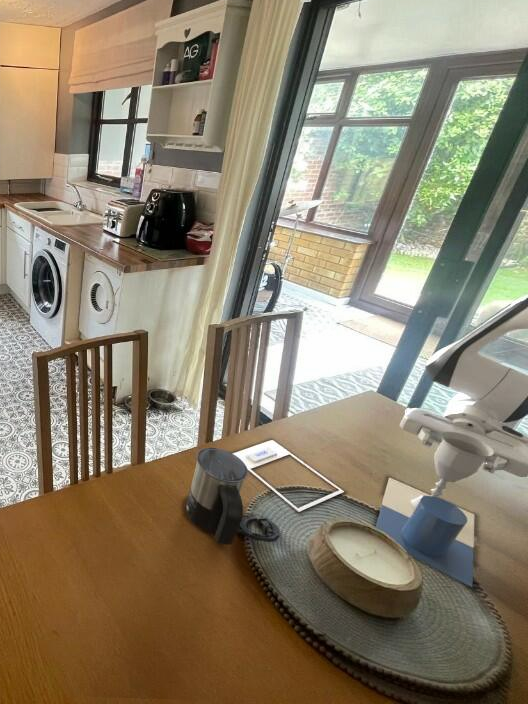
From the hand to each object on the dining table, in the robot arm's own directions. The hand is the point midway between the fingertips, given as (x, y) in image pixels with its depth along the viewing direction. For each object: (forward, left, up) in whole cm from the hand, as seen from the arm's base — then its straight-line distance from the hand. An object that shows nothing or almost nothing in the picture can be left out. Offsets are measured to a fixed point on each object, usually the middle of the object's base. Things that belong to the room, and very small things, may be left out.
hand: (457, 455), depth 86 cm
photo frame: (+29, -6, -13) cm, 32 cm away
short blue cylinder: (+12, +12, -11) cm, 20 cm away
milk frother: (+48, +8, -13) cm, 50 cm away
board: (+8, +8, -12) cm, 17 cm away
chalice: (+5, +4, -12) cm, 13 cm away
